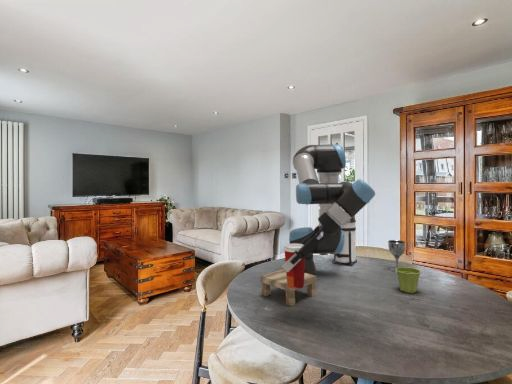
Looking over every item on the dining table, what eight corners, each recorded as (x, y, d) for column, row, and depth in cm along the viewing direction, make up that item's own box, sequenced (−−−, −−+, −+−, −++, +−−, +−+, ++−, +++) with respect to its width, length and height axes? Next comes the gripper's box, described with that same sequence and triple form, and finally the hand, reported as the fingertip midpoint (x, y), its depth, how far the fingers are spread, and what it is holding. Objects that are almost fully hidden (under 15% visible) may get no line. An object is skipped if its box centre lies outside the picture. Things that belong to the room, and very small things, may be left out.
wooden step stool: (261, 295, 117) (260, 276, 117) (286, 285, 128) (286, 268, 128) (290, 306, 105) (290, 285, 105) (316, 295, 116) (316, 275, 116)
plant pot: (424, 295, 114) (424, 273, 114) (399, 294, 116) (399, 272, 116) (416, 287, 123) (416, 267, 123) (393, 286, 125) (392, 266, 125)
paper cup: (308, 282, 101) (307, 243, 100) (304, 291, 93) (304, 248, 93) (286, 280, 103) (285, 242, 103) (281, 288, 96) (280, 247, 95)
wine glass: (406, 269, 150) (405, 240, 150) (404, 273, 143) (404, 243, 143) (389, 267, 154) (389, 239, 154) (387, 271, 148) (387, 242, 148)
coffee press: (325, 260, 171) (325, 210, 171) (351, 259, 173) (350, 209, 172) (337, 268, 154) (336, 212, 153) (365, 267, 156) (364, 212, 155)
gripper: (345, 232, 84) (291, 283, 88) (339, 222, 105) (295, 265, 108) (326, 214, 85) (274, 266, 89) (324, 208, 105) (281, 250, 109)
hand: (286, 265), depth 99 cm, fingers closed on paper cup, 8 cm apart
